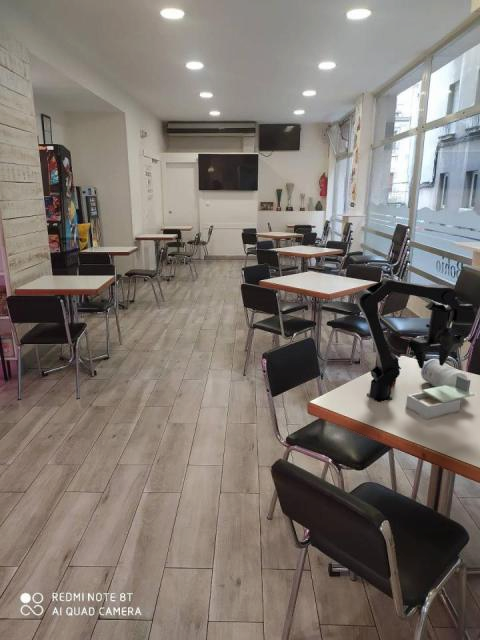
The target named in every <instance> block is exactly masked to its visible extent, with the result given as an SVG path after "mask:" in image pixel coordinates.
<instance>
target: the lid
mask: <svg viewBox="0 0 480 640" xmlns="http://www.w3.org/2000/svg"><path fill="white" fill-rule="evenodd" d="M471 381H472V380H471V379H469V378H468V379H466V378H464V377H462V376H457V379H456V385H454V384H450V385H445V386H440V387H430V388H426V389H422V391H421V392H424V393H426V394H428V395H430V396H432V397H434V398H436V399H438V400H440V401H442V402H448V401H452V400H457V399H461V400H462V399H464V398H465V399H466V398H469V397H473V396H475V393H473V392H471V391H469V390H470V386H471Z"/></svg>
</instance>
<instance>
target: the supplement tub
mask: <svg viewBox="0 0 480 640" xmlns="http://www.w3.org/2000/svg"><path fill="white" fill-rule="evenodd" d="M420 369H421V368H420ZM420 376H421V377H422V379H423V380H424V381H425V382H427V383H428V384H430V385H431V386H433V388H435V387H440V386H445V385H450V384H454V385H456V379H457V376H462V377H464V378H466V379H469V378H468V376H467V375H466V374H465V373H463V372H462V371H460V370H459V369H456V368H455V367H453V366H450V365H449V364H447V363H446V362H445V363H444V364H443V366H441V365H440V364H439V358H431V359H428V360H427V361H425V362H424V365H423V368H422V369H421V370H420Z"/></svg>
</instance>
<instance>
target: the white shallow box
mask: <svg viewBox="0 0 480 640" xmlns="http://www.w3.org/2000/svg"><path fill="white" fill-rule="evenodd" d="M461 400H462V398H461V399H457V400H452V401H448V402H442V401H440V400H438V399H436V398H434V397H432V396H430V395H428V394H426V393H424V392H422V391H421V392H417V393H412V394H407V396H406V403H405V408H406V409H408V410H409V411H411V412H413V413H414V414H417V415H418V416H420V417H421V418H423V419H424V420H430V419H435V418H440V417H444V416H449V415H452V414H457V413H460V405H461Z"/></svg>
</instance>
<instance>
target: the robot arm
mask: <svg viewBox="0 0 480 640" xmlns="http://www.w3.org/2000/svg"><path fill="white" fill-rule="evenodd" d="M392 293H397V294H403V295H406V296H407V295H408V296H414V297H419V298H425V299H428V300H430V301H431V302H429V303H428V304H426V305H425V308H426V309H428V310H429V311H430V317H429V323H426V324H425V328H427V329H428V330H427V334H426V335H424V336H423V339H422V338H419V337H418V338H416V337H415V338H410V339H409V340H408V343H407V347H408V348H410V350H412V352H413V354H414V356H415V359H416V362H417V365H418V367H419V369H422V368H423V365H424V364H425V362H426V361H425V360H426V356H427V355H428V354H429V353H430V351H429V350H430V349H431V347H436V346H438V360H439V364H440V365H441V366H443V364H444V363H446V362H447V359H448V358H449V356H450V354H451V353H452V352H455V351H458V349H459V348H462V347H463V346H464V342H465V336H464V335H463V334H457V335H456V334H452V333H451V327H450V326H449V321H450V323H451V324H453V325H469V326H472V325H473V324H475V320H476V313H475V310H474V308H475V307H474V305H473V304H472V303H466V304H465V303H464V304H462V303H461V304H460V303H459V301H458V299H457V298H456V297H457V294H456V291H455V289H454V288H451V287H449V286H447V285H446V284H436V283H435V284H420V283H413V282H408V281H404V280H403V281H402V280H396V279H392V278H388V277H386V278H383V279H382V280H381V281H379V282H377V283H374V284H372V285H370V286H368V287H366V288H365V289H361V290H358V291H357V293H356V294H355V297H354V299H355V302H356V304H357V306H358V308H359V310H360V312H361V313H362V314H363V316H364V318H365V321H366V324H367V327H368V330H369V333H370V335H371V339H372V343H373V345H374V348H375V352H376V356H377V366H376V367H375V366H374V368H372V369H371V370H370V376H371V377H372V378H373V379H372V380H371V381H370V387H369V388H370V389H369V392H368V393H366V396H368V397H369V398H371V399H373V400H374V401H376V402H378V403H382V402H386V401H390V400H394V398H393V396H391V393H392V387H391V386H392V384H393V382H394V380H395V379H396V380H397V379H398V377H399V376H400V374H401V371H400V370H402V367H401V366H400V363H399V360H398V359H399V357H398V358H397V357H396V356H397V355H396V354H395V353H394V352H390V350H389V347H388V343H387V341H386V337H385V334H384V331H383V328H382V325H381V321H380V318H379V304H378V303H380V302H382V301H383V300H384V299H385V298H387V296H388V295H389V294H392ZM436 303H437V304H436ZM447 306H448V307H447ZM395 355H396V356H395Z"/></svg>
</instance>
